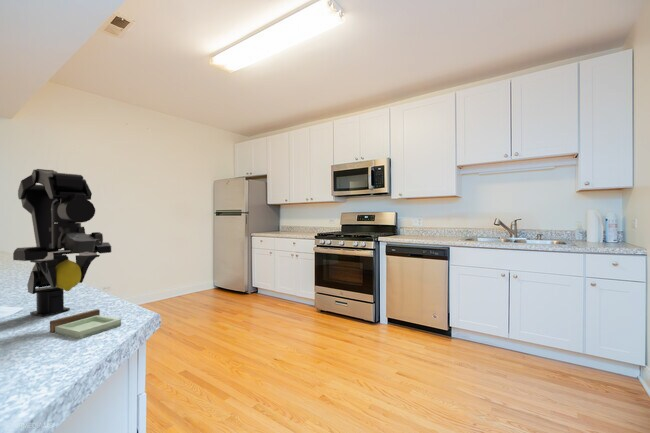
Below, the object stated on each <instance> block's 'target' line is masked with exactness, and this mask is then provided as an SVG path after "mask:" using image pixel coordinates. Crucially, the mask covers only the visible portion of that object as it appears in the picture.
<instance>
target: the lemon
mask: <svg viewBox="0 0 650 433" xmlns="http://www.w3.org/2000/svg"><path fill="white" fill-rule="evenodd" d="M55 269H56V286H57V287H59V288H61V289H64V291H65V292H69V291H71V289H73V288H75V287H77V285H78V284H80V283H79V282H80V280H81V269H80V267H79V265H78V264H77V263H76V261H72V260H70V259H68V260H65V261H64V262H61V263H60V264H58V265H57V266H56V267H55Z"/></svg>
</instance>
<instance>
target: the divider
mask: <svg viewBox="0 0 650 433" xmlns="http://www.w3.org/2000/svg"><path fill="white" fill-rule="evenodd" d="M100 311H101V310H100V309H93V310H88V311H84V312H80V313H77V314H73V315H69V316H65V317H61V318H57V319H53V320H50V321H49V332H50V333H55V327H56V326H59V325H63V324H67V323H70V322H74V321H78V320H81V319H85V318H89V317H93V316H96V315H100V314H101V312H100ZM100 316H101V315H100Z"/></svg>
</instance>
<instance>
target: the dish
mask: <svg viewBox="0 0 650 433" xmlns="http://www.w3.org/2000/svg"><path fill="white" fill-rule="evenodd" d="M121 326H122V318H117V317H111V316H105V315H96V316H93V317H89V318H85V319H81V320H78V321H74V322H70V323H67V324H63V325H59V326H56V327H55V332H54V333H55V334H57V335H61V336H66V337H70V338H75V339H78V340H79V339H83V338H86V337H89V336H90V337H91V336H93V335H95V334H100V333H101V332H104V331H108V330H111V329H114V328H118V327H121Z"/></svg>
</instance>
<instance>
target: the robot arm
mask: <svg viewBox="0 0 650 433" xmlns="http://www.w3.org/2000/svg"><path fill="white" fill-rule="evenodd" d="M92 194H93V193H92V191H91V189H90V186H89V184H88V183H87V180H86V179H85V178H84V175H81V174H78V173H77V174H75V173H63V172H58V171H55V170H53V169H45V168H43V169H42V168H36V169H33V170H32V173H31V174H30V175H29V176H26V177H24V178H23V179H21V180H20V184H19V186H18V190H17V196H18V197H17V198H18V200H20V202H21V205H22V208H23V209H24V210H25V211H27V212H28V213H29V214H30V215H31V222H32V227H33V232H34V233H33V234H34V239H35V244H36V245H35V246H28V247H27V246H24V247H16V249H15V250H14V251H13V254H12V258H13V261H19V262H20V261H22V262H30V263H34V265H33V267H32V270H31V271H30V275H29V278H28V282H27V292H28V293H29V294H32V295H34V294H36V295H35V296H36V297H35V298H36V310H34V311H30V313H29V314H30V315H33V316H38V317H47V316H51V315H54V314H58V313H62V312H66V311H67V312H68V311H70V310H71V308H70V307H66V306H65V305H64V304H65V303H64V300H65V295H64V291H65V290H64V289H61V288H59V287H57V286H56V269H55V267H56V266H57V265H58V264H60V263H61V262H64V261H65V260H69V256H68V255H73V254H77V255H75V263H77V264H78V265H79V267H80V269H81V280H80V282H79V283H78V284H81V283H83V282H84V280H85V277H86V274H87V271H88V269H89V268H90V265H91V264H92V262H93V261H94V260H95V259H96V258H99V257H100V256H101V255H100V254H107V253H112V245H111V244H110V243H109V242H107V241H105V242H104V235H103V233H101V232H100V231H99V232H98V231H97V232H96V231H95V232H91V233H90V234H89V233H88V234H87V233H86V229H85V226H82V223H86V222H89V221H90V220H92V219H93V217H94V216H95V215H96V208H95V206H94V204H93V203H92V202H91V201H90V200H92ZM97 253H98V254H97Z"/></svg>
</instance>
